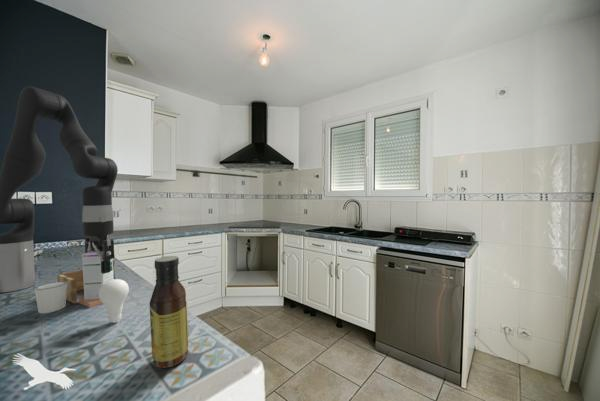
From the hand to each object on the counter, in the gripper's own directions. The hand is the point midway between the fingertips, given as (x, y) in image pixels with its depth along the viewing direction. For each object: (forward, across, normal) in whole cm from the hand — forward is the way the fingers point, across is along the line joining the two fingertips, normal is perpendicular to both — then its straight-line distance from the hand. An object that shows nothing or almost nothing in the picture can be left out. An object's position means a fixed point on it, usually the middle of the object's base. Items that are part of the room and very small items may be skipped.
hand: (99, 270), depth 77 cm
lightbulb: (+9, +21, -5) cm, 24 cm away
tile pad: (+9, 0, 0) cm, 9 cm away
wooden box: (+9, -11, 0) cm, 15 cm away
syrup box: (+8, 0, 0) cm, 8 cm away
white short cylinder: (+10, -6, -10) cm, 15 cm away
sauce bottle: (+9, +48, -7) cm, 50 cm away
